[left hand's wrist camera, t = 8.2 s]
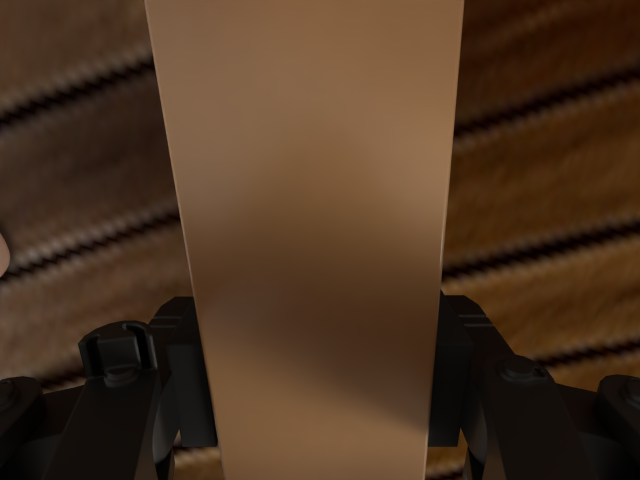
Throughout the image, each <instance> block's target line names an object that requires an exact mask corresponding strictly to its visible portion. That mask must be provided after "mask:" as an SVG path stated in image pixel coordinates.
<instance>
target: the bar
mask: <svg viewBox="0 0 640 480" xmlns="http://www.w3.org/2000/svg"><path fill="white" fill-rule="evenodd" d="M144 5H145V11H146V17H147V23H148V28H149V34H150V40H151V46H152V52H153V58H154V64H155V70H156V76H157V82H158V88H159V94H160V100H161V106H162V111H163V117H164V123H165V129H166V135H167V141H168V147H169V153H170V159H171V165H172V171H173V177H174V183H175V189H176V194H177V200H178V206H179V212H180V218H181V224H182V230H183V236H184V242H185V248H186V254H187V260H188V266H189V272H190V277H191V283H192V289H193V295H194V301H195V307H196V313H197V319H198V325H199V331H200V337H201V343H202V349H203V355H204V360H205V366H206V372H207V378H208V384H209V390H210V396H211V402H212V408H213V414H214V420H215V426H216V432H217V438H218V443H219V449H220V455H221V461H222V467H223V473H224V479H225V480H425V471H426V459H427V447H428V435H429V422H430V410H431V398H432V386H433V374H434V362H435V350H436V338H437V326H438V313H439V301H440V289H441V277H442V265H443V253H444V241H445V229H446V216H447V204H448V192H449V180H450V168H451V156H452V144H453V132H454V119H455V107H456V95H457V83H458V71H459V59H460V47H461V35H462V22H463V10H464V0H144Z"/></svg>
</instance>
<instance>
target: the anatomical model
mask: <svg viewBox="0 0 640 480" xmlns="http://www.w3.org/2000/svg"><path fill="white" fill-rule="evenodd" d="M9 262H10V253H9V249H8V247H7V244H6V242H5V240H4V238H3V236H2V235H1V233H0V277H1V276H2V275H3V274H4V272H5V271H6V269H7V268H8V266H9Z"/></svg>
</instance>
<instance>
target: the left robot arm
mask: <svg viewBox="0 0 640 480" xmlns="http://www.w3.org/2000/svg"><path fill="white" fill-rule="evenodd" d="M78 346H79V350H80V354H81V358H82V362H83V366H84V369H85V373H86V377H87V380H86V382H85V384H84V385H82V386H78V387H74V388H70V389H65V390H60V391H56V392H51V393H46V394H43V391H42V388H41V385H40V383H39V382H38V381H37V380H36V379H34V378H30V377H24V376H21V377H13V378H7V379H2V380H0V480H173V475H174V466H175V461H174V453H173V448H172V445H173V442H174V440H175V438H176V435H177V433H178V430H179V429H180V435H181V441H182V447H216V446H217V442H218V438H217V432H216V426H215V420H214V414H213V408H212V402H211V396H210V390H209V384H208V378H207V372H206V366H205V360H204V355H203V349H202V343H201V337H200V331H199V325H198V319H197V313H196V307H195V301H194V297H174V298H173V299H171V300H170V301H168V302H167V303H165V304H164V305H162V306H161V307H160V309H159V310H158V311H157V313H156V314H155V315H154V319H152V320H151V321H150V322H149V324H148V325H147V324H146V323H144V322H139V321H120V322H115V323H110V324H107V325H105V326H102V327H99V328H97V329H95V330H93V331H92V332H90V333H89V334H87V335H85V336H84V337H83V338H82V340H81V341H80V342H79V343H78ZM460 427H461V429H462V432H463V434H464V436H465V439H466V441H467V444H468V448H467V453H466V459H465V465H464V470H463V476H462V480H640V379H639V378H637V377H633V376H626V375H610V376H606V377H605V378H603V379H602V380H601V381H600V383H599V387H598V390H597V392H593V391H588V390H583V389H578V388H574V387H569V386H565V385H561V384H557V383H555V381H554V379H553V378H552V376H551V375H550V374H549V372H548V371H547V370H546V369H545V368H544V367H542V366H541V365H539V364H538V363H537V362H535V361H533V360H530V359H528V358H526V357H524V356H520V355H515V354H514V352H513V351H512V350H511V348H510V347H509V346H508V344H507V343H506V341H505V340H504V339H503V337H502V336H501V335H500V333H499V332H498V331H497V329H496V328H495V327H493V324H492V322H491V321H490V320H489V318H488V317H486V314H485V313H484V312H483V310H482V309H481V308H480V306H479V305H478V304H477V303H475V302H474V301H472V300H471V299H469V298H467V297H466V296H464V295H444V294H443V292H442V290H441V289H440V301H439V313H438V326H437V338H436V350H435V362H434V374H433V386H432V398H431V410H430V422H429V435H428V447H457V445H458V439H459V433H460Z"/></svg>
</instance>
